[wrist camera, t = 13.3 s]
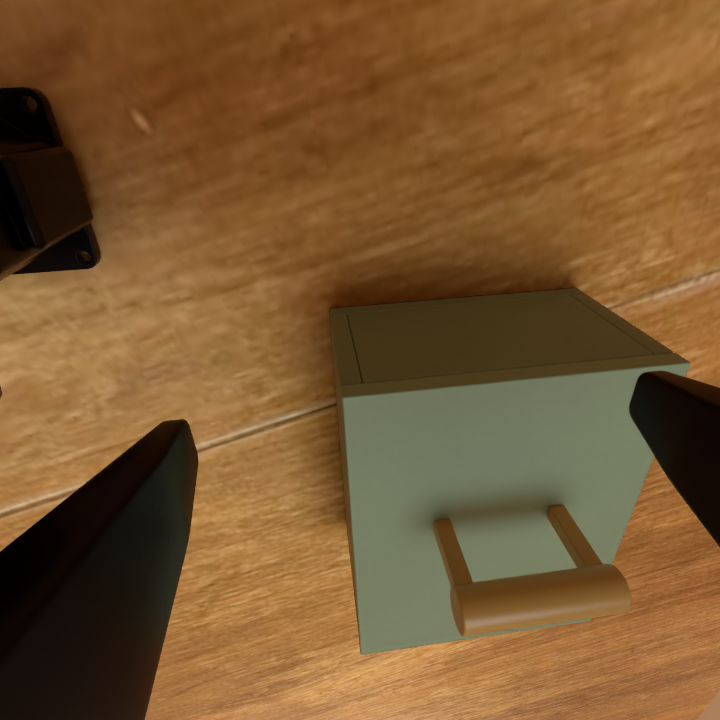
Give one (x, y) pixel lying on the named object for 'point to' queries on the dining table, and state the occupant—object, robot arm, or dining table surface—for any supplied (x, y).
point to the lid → (492, 498)
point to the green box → (473, 341)
